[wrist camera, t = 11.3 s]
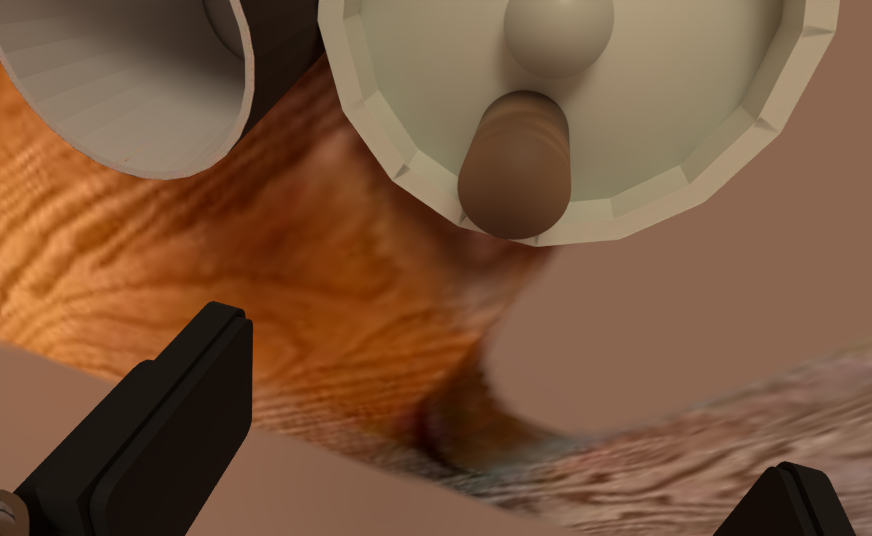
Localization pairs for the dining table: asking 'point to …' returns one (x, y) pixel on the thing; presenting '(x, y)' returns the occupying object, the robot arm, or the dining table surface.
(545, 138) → the cylinder
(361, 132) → the tray
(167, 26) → the coffee mug
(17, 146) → the dining table surface
